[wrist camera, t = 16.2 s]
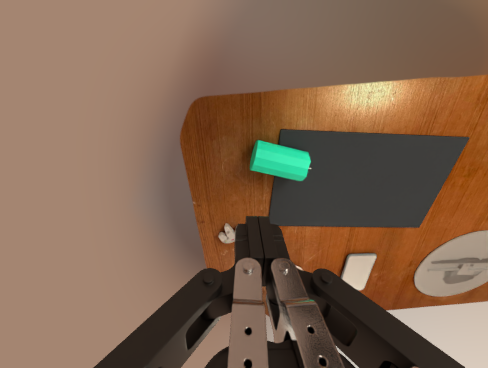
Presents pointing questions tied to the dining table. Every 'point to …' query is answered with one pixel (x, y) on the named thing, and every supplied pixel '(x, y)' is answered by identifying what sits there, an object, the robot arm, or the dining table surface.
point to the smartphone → (358, 269)
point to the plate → (454, 266)
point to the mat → (363, 178)
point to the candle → (279, 161)
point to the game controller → (227, 234)
